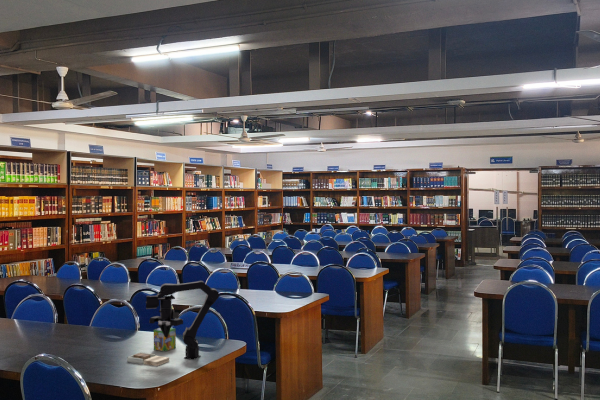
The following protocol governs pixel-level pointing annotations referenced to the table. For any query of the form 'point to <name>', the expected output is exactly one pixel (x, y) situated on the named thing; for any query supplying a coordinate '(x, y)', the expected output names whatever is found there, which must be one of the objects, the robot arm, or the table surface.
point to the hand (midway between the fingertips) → (166, 337)
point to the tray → (137, 360)
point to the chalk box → (164, 340)
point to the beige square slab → (156, 360)
